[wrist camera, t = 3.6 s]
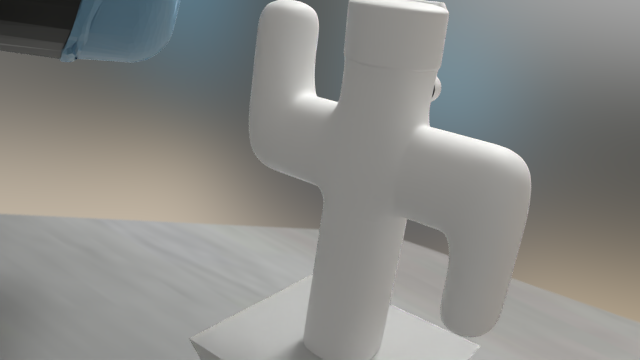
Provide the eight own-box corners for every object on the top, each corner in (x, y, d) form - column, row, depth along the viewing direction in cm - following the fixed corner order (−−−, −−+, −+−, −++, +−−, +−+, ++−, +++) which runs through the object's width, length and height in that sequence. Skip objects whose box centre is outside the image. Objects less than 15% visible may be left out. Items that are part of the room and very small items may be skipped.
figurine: (393, 590, 15) (538, 12, 11) (160, 413, 20) (190, -36, 16) (486, 443, 21) (606, 26, 16) (287, 334, 26) (336, -12, 21)
